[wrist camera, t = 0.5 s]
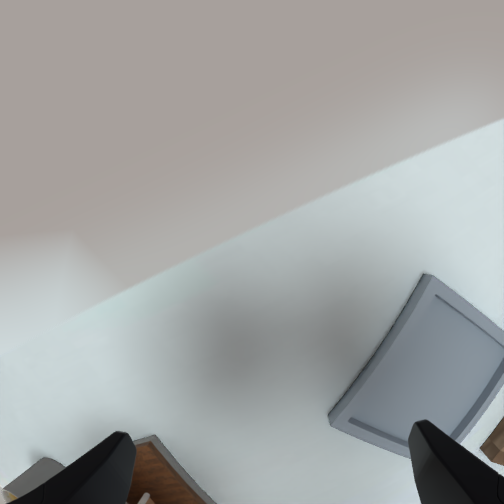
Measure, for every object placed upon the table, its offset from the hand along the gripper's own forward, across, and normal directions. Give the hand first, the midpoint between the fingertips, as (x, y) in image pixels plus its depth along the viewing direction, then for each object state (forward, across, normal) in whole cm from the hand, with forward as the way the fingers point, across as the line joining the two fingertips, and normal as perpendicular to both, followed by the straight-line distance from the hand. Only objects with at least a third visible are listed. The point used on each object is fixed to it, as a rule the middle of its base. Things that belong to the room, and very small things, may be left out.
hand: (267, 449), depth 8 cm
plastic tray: (+12, -14, +11) cm, 21 cm away
